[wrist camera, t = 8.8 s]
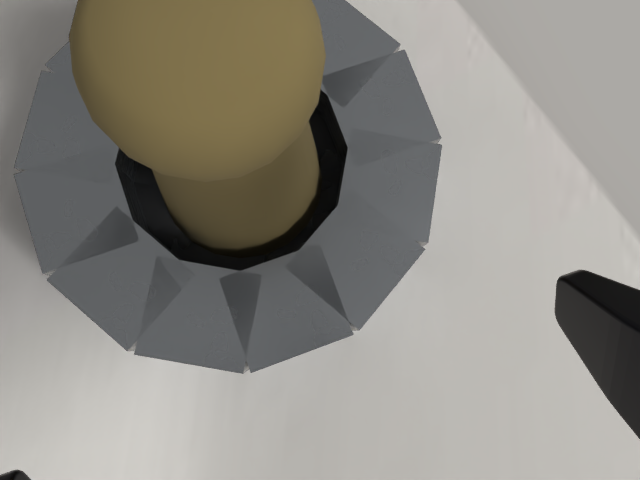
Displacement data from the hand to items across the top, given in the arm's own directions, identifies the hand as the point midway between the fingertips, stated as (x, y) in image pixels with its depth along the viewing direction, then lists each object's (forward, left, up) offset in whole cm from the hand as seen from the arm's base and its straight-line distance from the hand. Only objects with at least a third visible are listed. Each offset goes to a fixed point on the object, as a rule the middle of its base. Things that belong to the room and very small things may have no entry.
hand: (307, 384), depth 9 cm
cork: (+3, -6, -11) cm, 13 cm away
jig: (+3, -6, -12) cm, 14 cm away
